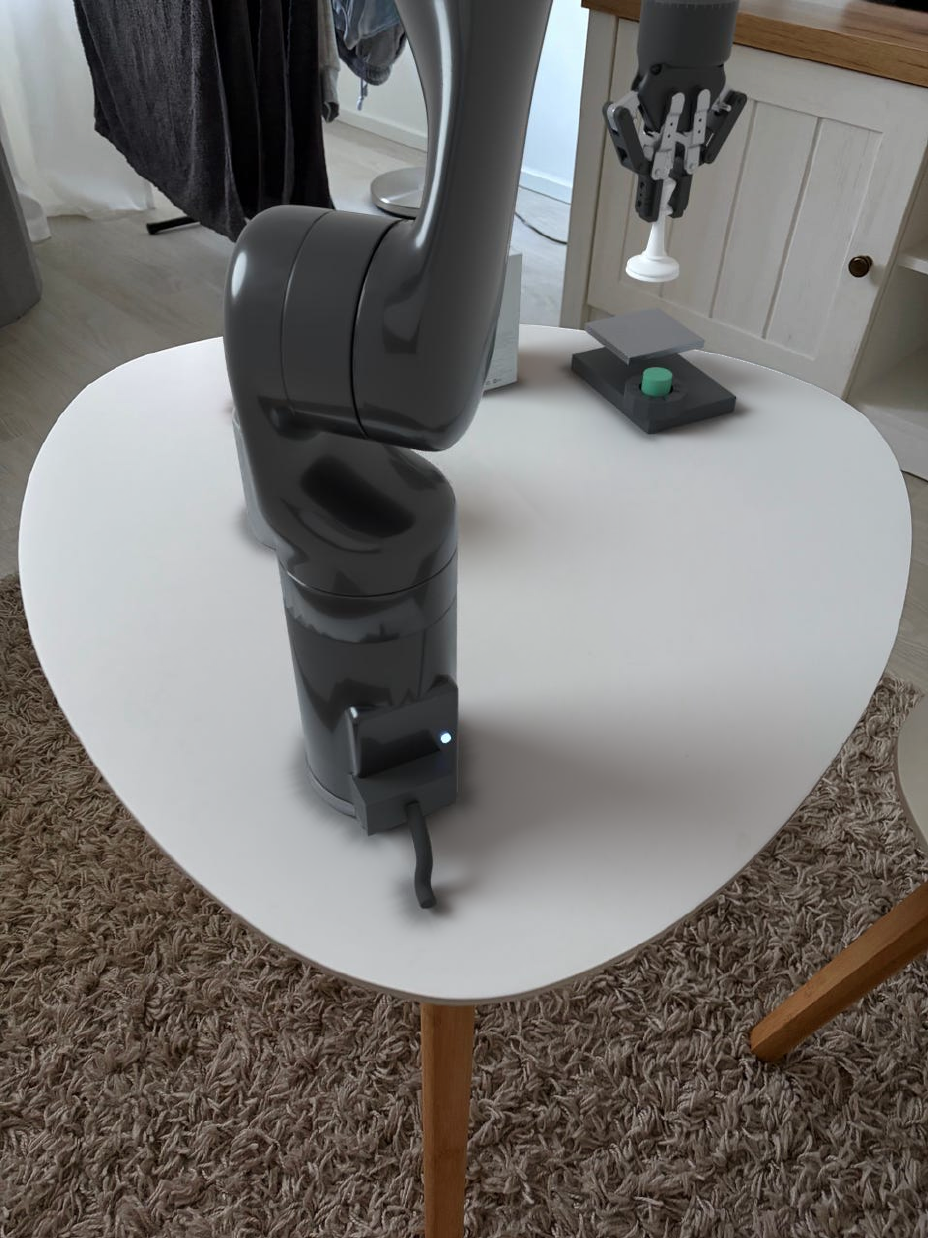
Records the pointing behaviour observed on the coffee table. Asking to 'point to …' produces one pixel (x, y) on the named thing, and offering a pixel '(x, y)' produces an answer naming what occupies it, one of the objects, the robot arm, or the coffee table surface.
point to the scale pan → (643, 335)
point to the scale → (684, 404)
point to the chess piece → (656, 244)
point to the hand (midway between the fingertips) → (660, 216)
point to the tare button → (656, 381)
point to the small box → (507, 327)
